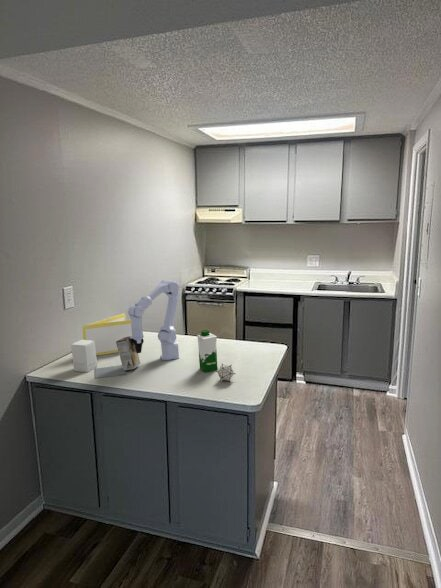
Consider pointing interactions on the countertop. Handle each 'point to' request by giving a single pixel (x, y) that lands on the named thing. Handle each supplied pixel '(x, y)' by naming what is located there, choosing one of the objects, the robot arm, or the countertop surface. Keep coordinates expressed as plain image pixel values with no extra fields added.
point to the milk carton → (207, 351)
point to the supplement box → (84, 355)
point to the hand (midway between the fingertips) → (139, 352)
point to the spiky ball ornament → (225, 372)
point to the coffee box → (128, 353)
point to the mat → (109, 371)
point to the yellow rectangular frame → (107, 333)
